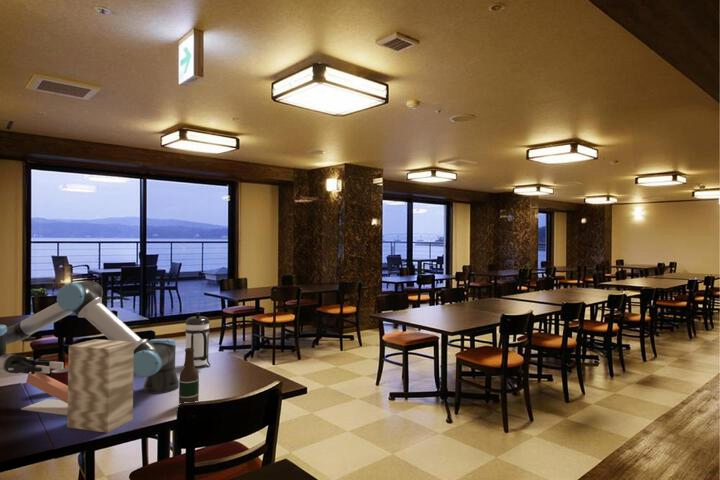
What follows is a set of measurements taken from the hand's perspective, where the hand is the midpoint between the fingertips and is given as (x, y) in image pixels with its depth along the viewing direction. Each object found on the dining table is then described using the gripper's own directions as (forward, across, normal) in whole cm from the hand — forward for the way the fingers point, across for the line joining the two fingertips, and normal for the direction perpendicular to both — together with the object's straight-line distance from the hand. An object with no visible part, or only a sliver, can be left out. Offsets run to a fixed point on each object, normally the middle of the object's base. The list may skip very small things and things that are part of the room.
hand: (55, 367), depth 184 cm
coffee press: (+21, -69, -16) cm, 74 cm away
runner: (+5, 0, -16) cm, 17 cm away
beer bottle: (+52, -16, -16) cm, 57 cm away
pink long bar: (+2, 0, -11) cm, 11 cm away
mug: (-14, -14, -16) cm, 25 cm away
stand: (+32, +9, -16) cm, 37 cm away
